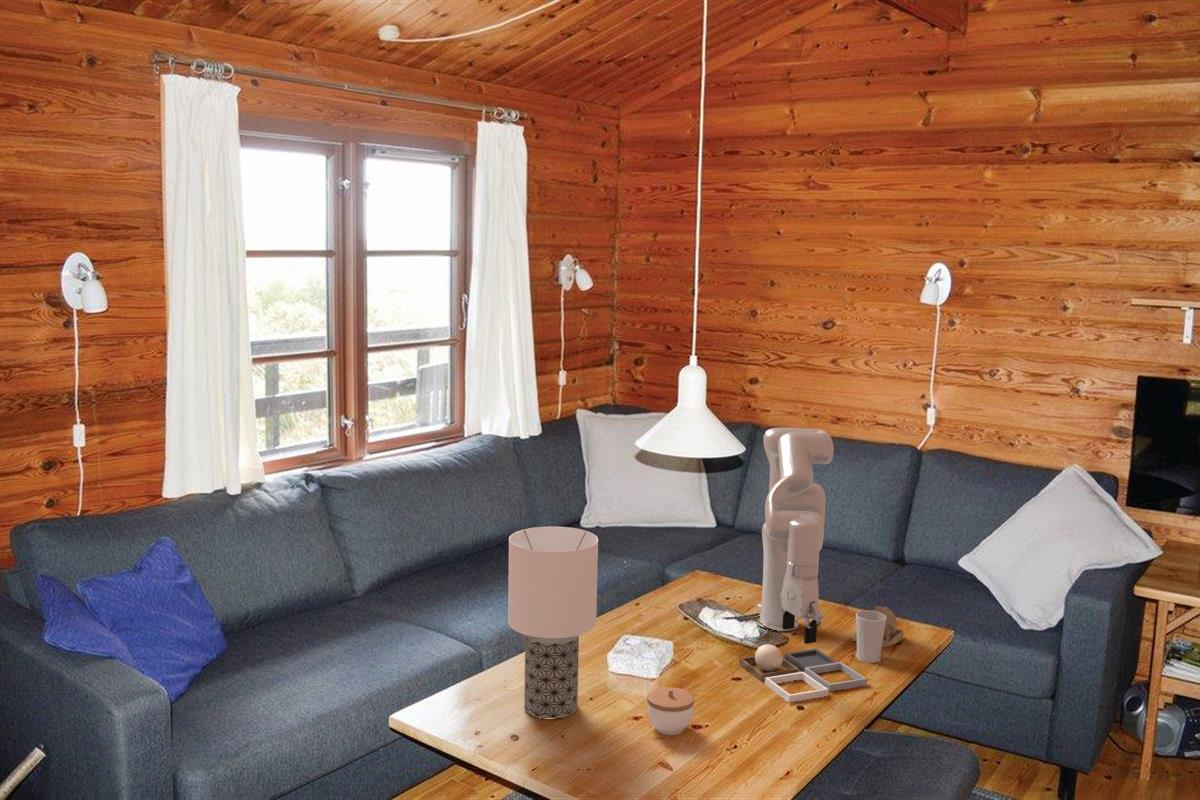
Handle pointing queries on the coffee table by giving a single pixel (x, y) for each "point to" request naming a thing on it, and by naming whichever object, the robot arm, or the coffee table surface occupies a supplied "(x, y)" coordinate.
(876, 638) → the cup
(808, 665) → the dark grey tray
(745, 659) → the walnut frame
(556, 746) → the coffee table surface
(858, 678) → the grey frame
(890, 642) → the ceramic model
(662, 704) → the lidded jar
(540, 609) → the lamp
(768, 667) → the beige ball
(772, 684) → the white frame
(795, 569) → the robot arm
